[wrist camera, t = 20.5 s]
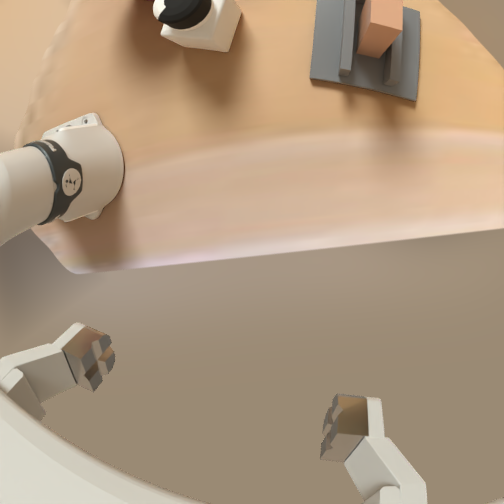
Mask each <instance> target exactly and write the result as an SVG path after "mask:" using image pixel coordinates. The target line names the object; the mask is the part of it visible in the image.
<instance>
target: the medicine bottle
mask: <svg viewBox="0 0 504 504" xmlns="http://www.w3.org/2000/svg"><path fill="white" fill-rule="evenodd" d="M153 13H154V16H155V17H156V19H157V20H159V21H160V22H162V23H164V25H163V28H162V31H161V36H163V37H165V38H167V39H169V40H171V41H173V42H175V43H177V44H179V45H181V46H183V47H189V48H198V49H206V50H214V51H221V52H228V51H229V49H230V46H231V43H232V40H233V37H234V34H235V31H236V28H237V25H238V22H239V19H240V16H241V13H242V10H241V9H240V8H239V6H238V5H237V4H236V2H235V1H234V0H155V1H154V5H153Z"/></svg>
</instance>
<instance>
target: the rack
mask: <svg viewBox="0 0 504 504" xmlns="http://www.w3.org/2000/svg"><path fill="white" fill-rule="evenodd" d="M365 1H366V0H317V7H316V19H315V30H314V40H313V51H312V61H311V70H310V79H315V80H321V81H327V82H333V83H339V84H344V85H350V86H354V87H359V88H364V89H368V90H373V91H377V92H381V93H385V94H389V95H393V96H396V97H400V98H404V99H407V100H410V101H416V96H417V85H418V72H419V53H420V12H419V11H416V10H413V9H410V8H407V7H403V25H402V32H401V33H400V34H399V35H398V36H397V38H396V39H395V40H394V41H393V42H392V43H391V45H390V46H389V47H388V48H387V49H386V51H385V52H384V53H383V54H382V55H381V57H380V58H379V59H378V58H374V57H370V56H366V55H361V54H357V53H356V48H357V35H358V21H359V18H360V15H361V12H362V9H363V6H364V4H365Z"/></svg>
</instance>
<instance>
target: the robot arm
mask: <svg viewBox="0 0 504 504" xmlns="http://www.w3.org/2000/svg"><path fill="white" fill-rule="evenodd" d="M87 120H88V122H87ZM123 173H124V164H123V156H122V152H121V149H120V146H119V144H118V142H117V140H116V139H115V137H114V136H113V135H112V134H111V133H110V132H109V131H108V130H107V129H106V128H105V127H104V126H103V125H102V122H101V120H100V118H99V116H98V115H97V114H96V113H90V114H87V115H84V116H82V117H79V118H76V119H74V120H71V121H69V122H67V123H64V124H62V125H60V126H57V127H55V128H53V129H50V130H48V131H46V132H44V134H43V136H42V139H41V140H37V141H33V142H31V143H29V144H26V145H25V146H23V147H22V148H18V149H14V150H10V151H6V152H2V153H0V246H1V245H2V244H4V243H5V242H6V241H8V240H10V239H11V238H13V237H15V236H16V235H18V234H20V233H22V232H24V231H25V230H27V229H29V228H31V227H33V226H35V225H43V224H46V223H50V222H52V221H54V220H56V219H57V218H58V219H60V220H63V221H64V222H69V221H72V220H75V219H77V218H80V217H83V216H84V217H87V218H89V219H92V220H93V219H97V218H98V217H99V216H100V214H101V212H102V209H103V208H104V206H106V205H107V204H108V203H110V202H111V201H112V200H113V199H114V198H115V196H116V195H117V193H118V191H119V189H120V187H121V184H122V180H123ZM110 344H111V339H110V336H108V335H107V334H104V333H102V332H100V331H97V330H95V329H93V328H91V327H88V326H86V325H84V324H82V323H79V322H77V323H74V324H73V325H72V326H71V327H70V328H69V329H68V330H67V331H66V332H65V333H63V334H62V335H61V336H60V337H59V338H58V339H57V340H56V341H55V342H54V343H53V344H52V345H51V344H46V345H42V346H39V347H35V348H32V349H28V350H25V351H22V352H18V353H15V354H11V355H8V356H5V357H3V358H2V359H0V504H211V503H207V502H204V501H201V500H197V499H194V498H190V497H188V496H185V495H182V494H179V493H176V492H173V491H170V490H168V489H165V488H162V487H160V486H157V485H155V484H152V483H150V482H147V481H145V480H143V479H140V478H138V477H136V476H133V475H131V474H129V473H127V472H125V471H123V470H121V469H119V468H117V467H115V466H112V465H111V464H109V463H107V462H105V461H103V460H101V459H99V458H97V457H96V456H94V455H92V454H90V453H88V452H87V451H85V450H83V449H82V448H80V447H78V446H76V445H75V444H73V443H72V442H70V441H68V440H67V439H65V438H64V437H62V436H60V435H59V434H58V433H56V432H55V431H53V430H52V429H50V428H49V427H47V426H46V425H45V424H43V423H42V422H40V421H41V420H42V419H43V417H44V416H45V415H46V412H45V410H44V408H43V407H42V406H41V402H43V401H46V400H48V399H50V398H52V397H54V396H56V395H58V394H60V393H62V392H64V391H66V390H68V389H71V388H73V387H75V386H76V385H79V386H81V387H83V388H85V389H88V390H90V391H92V392H94V391H95V390H96V389H97V387H98V386H99V385H100V384H101V382H102V376H103V375H106V374H109V372H110V371H111V370H112V368H113V365H114V362H115V354H114V351H113V350H112V348H111V347H110ZM322 433H323V434H324V436H325V438H324V440H323V442H322V443H321V454H320V459H321V460H328V461H336V462H337V461H338V462H344V465H345V467H346V469H347V471H348V472H349V474H350V476H351V478H352V480H353V482H354V483H355V485H356V487H357V489H358V491H359V493H360V494H361V496H362V498H363V500H364V502H363V503H362V504H427V494H426V483H425V482H424V481H423V479H422V478H421V477H420V476H419V475H418V473H417V472H416V471H415V469H414V468H413V467H412V466H411V464H410V463H409V462H408V461H407V460H406V458H405V457H404V456H403V455H402V454H401V452H400V451H399V450H398V448H397V447H396V446H395V445H394V443H393V442H392V441H391V440H390V438H386V437H385V434H384V422H383V413H382V404H381V400H380V398H372V397H364V396H352V395H344V394H336V395H335V397H334V399H333V402H332V407H330V408H329V409H328V411H327V413H326V416H325V419H324V424H323V432H322ZM484 504H504V497H503V498H500V499H496V500H494V501H490V502H487V503H484Z"/></svg>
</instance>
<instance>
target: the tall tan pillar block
mask: <svg viewBox="0 0 504 504" xmlns="http://www.w3.org/2000/svg"><path fill="white" fill-rule="evenodd" d="M402 25H403V0H366V1H365V4H364V6H363V9H362V12H361V15H360V18H359V21H358V35H357V48H356V53H357V54H361V55H366V56H370V57H374V58H378V59H379V58H380V57H381V55H382V54H383V53H384V52H385V51H386V49H387V48H388V47H389V46H390V45H391V43H392V42H393V41H394V40H395V39H396V38H397V36H398V35H399V34H400V33H401V32H402Z"/></svg>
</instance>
